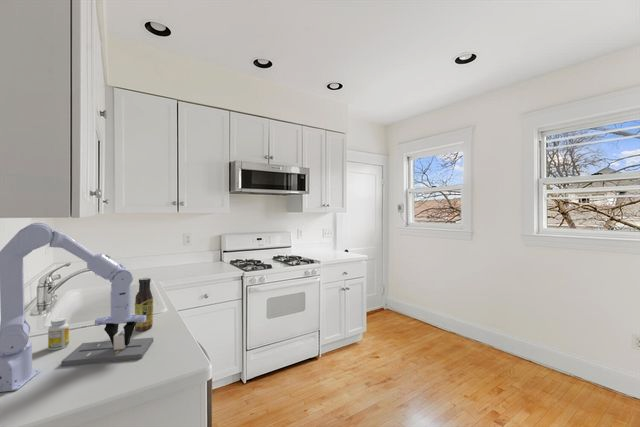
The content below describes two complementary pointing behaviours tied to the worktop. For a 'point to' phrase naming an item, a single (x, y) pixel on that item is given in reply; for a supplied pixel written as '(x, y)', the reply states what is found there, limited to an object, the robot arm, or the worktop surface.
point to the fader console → (107, 352)
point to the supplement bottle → (58, 334)
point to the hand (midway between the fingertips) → (121, 344)
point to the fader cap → (119, 340)
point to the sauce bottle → (144, 304)
